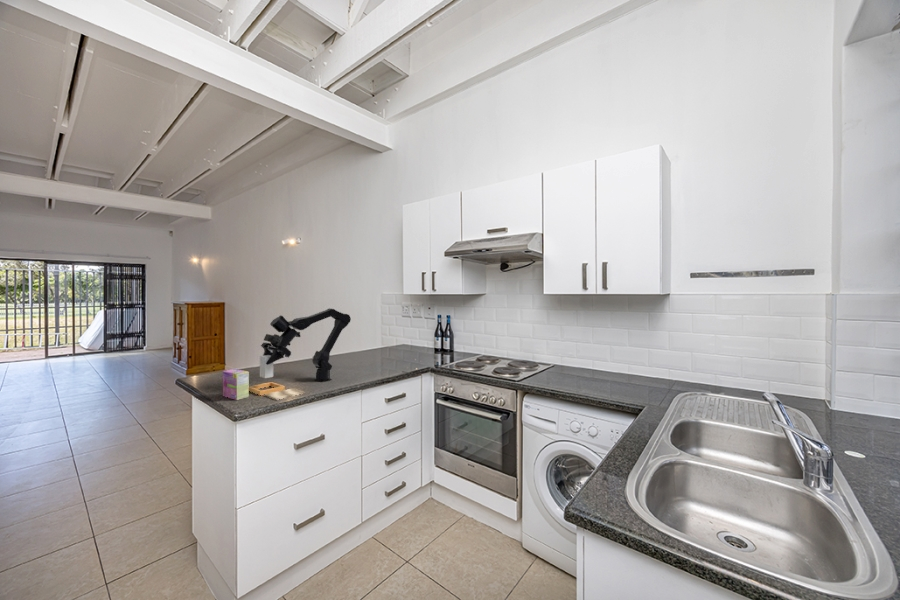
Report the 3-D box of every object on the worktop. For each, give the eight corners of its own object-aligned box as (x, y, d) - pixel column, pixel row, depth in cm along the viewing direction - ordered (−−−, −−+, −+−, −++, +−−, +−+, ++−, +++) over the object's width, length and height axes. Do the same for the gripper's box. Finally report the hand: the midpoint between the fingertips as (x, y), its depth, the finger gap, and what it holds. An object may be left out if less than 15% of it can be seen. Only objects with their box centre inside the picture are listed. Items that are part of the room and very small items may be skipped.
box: (222, 396, 165) (222, 370, 165) (234, 393, 170) (235, 368, 170) (236, 400, 160) (236, 373, 160) (248, 397, 165) (249, 371, 165)
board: (292, 389, 179) (292, 388, 179) (304, 393, 174) (304, 391, 173) (264, 395, 168) (264, 394, 168) (276, 400, 162) (276, 398, 162)
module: (267, 375, 179) (268, 354, 179) (273, 376, 177) (273, 356, 176) (259, 376, 176) (259, 356, 176) (265, 378, 173) (265, 357, 173)
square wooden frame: (271, 385, 185) (271, 381, 185) (284, 390, 178) (284, 386, 178) (247, 390, 175) (247, 386, 175) (260, 395, 168) (260, 391, 168)
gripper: (265, 326, 184) (242, 350, 176) (285, 329, 173) (262, 355, 165) (279, 340, 191) (258, 364, 182) (300, 344, 180) (278, 370, 171)
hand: (263, 363), depth 175 cm, fingers closed on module, 5 cm apart
